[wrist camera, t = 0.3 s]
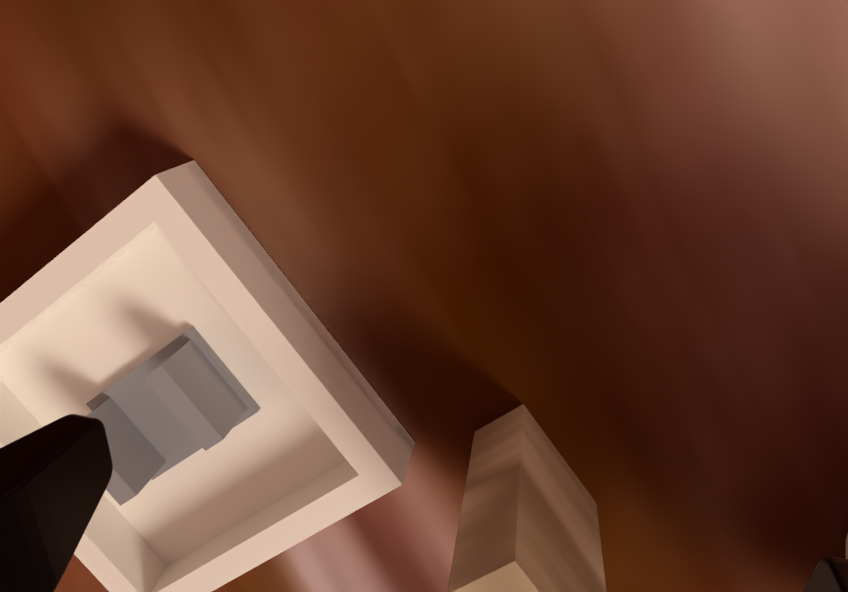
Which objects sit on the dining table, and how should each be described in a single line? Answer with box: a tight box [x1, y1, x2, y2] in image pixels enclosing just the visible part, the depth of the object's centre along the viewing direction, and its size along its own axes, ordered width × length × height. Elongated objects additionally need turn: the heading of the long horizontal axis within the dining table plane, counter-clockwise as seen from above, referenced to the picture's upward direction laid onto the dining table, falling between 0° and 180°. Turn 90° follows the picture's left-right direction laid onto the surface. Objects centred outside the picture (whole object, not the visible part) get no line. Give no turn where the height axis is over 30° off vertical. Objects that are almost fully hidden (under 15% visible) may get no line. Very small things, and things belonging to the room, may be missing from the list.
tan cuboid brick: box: [447, 404, 606, 592], centre depth 22 cm, size 2×4×8 cm, turn 37°
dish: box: [0, 160, 415, 592], centre depth 26 cm, size 12×12×3 cm
